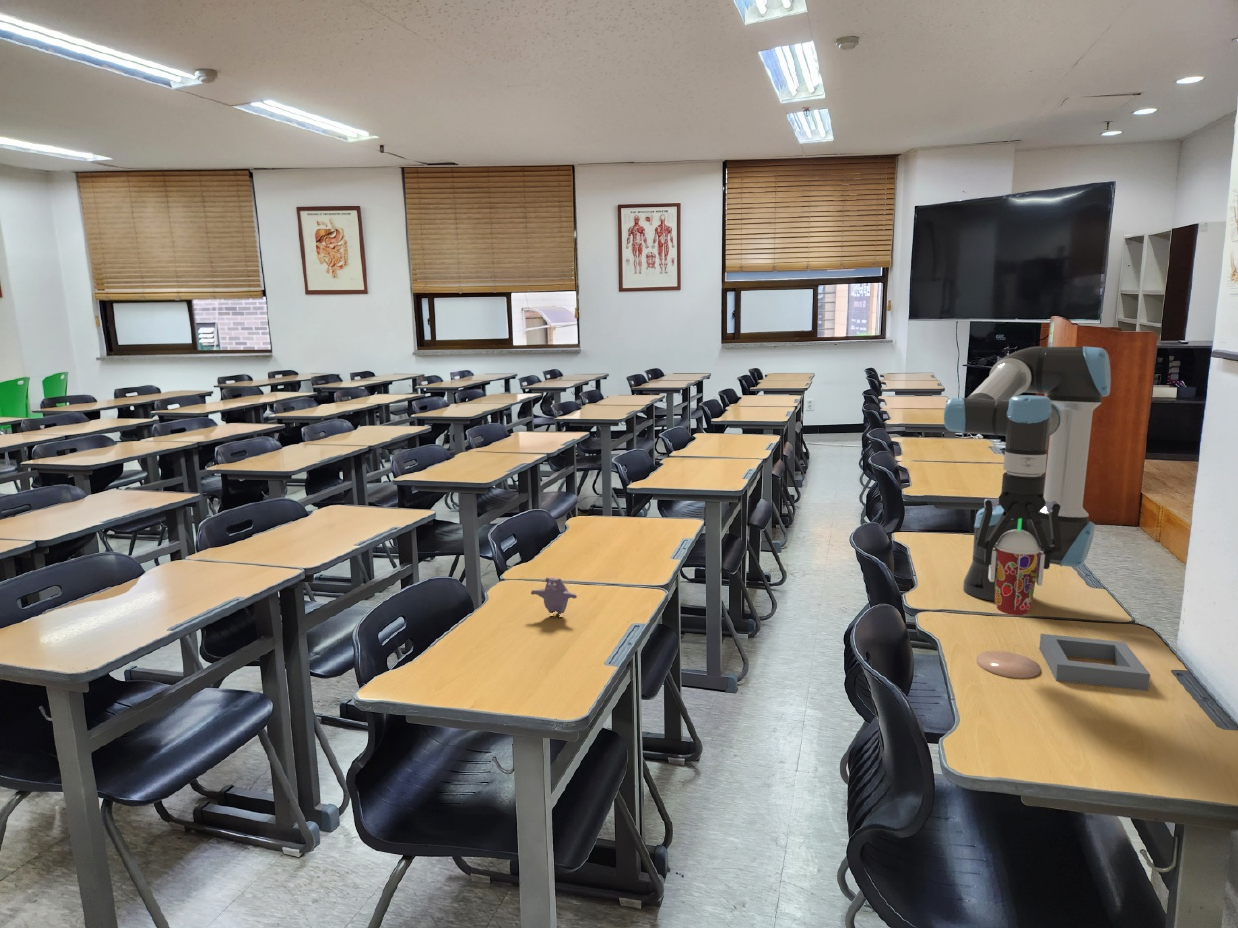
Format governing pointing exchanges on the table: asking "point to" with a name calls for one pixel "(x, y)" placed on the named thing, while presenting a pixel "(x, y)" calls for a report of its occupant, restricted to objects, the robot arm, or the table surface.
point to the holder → (1120, 676)
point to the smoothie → (1016, 571)
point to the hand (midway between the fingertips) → (1014, 581)
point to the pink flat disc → (1008, 664)
